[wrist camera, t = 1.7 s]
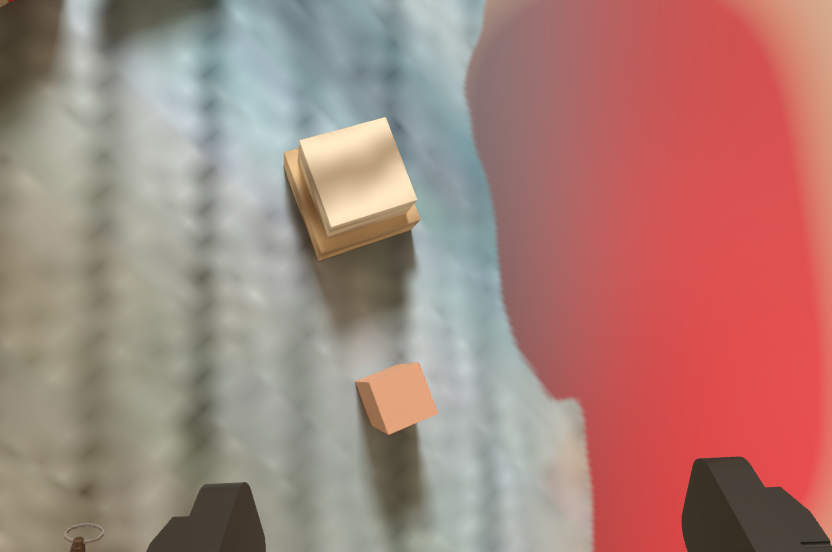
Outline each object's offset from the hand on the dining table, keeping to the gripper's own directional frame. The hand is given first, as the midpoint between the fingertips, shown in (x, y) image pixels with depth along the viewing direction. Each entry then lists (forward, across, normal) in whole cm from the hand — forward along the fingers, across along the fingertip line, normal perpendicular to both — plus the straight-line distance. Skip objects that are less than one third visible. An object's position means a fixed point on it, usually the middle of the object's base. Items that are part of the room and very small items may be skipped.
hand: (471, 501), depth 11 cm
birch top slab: (+46, -8, -11) cm, 48 cm away
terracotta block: (+37, -6, -29) cm, 48 cm away
